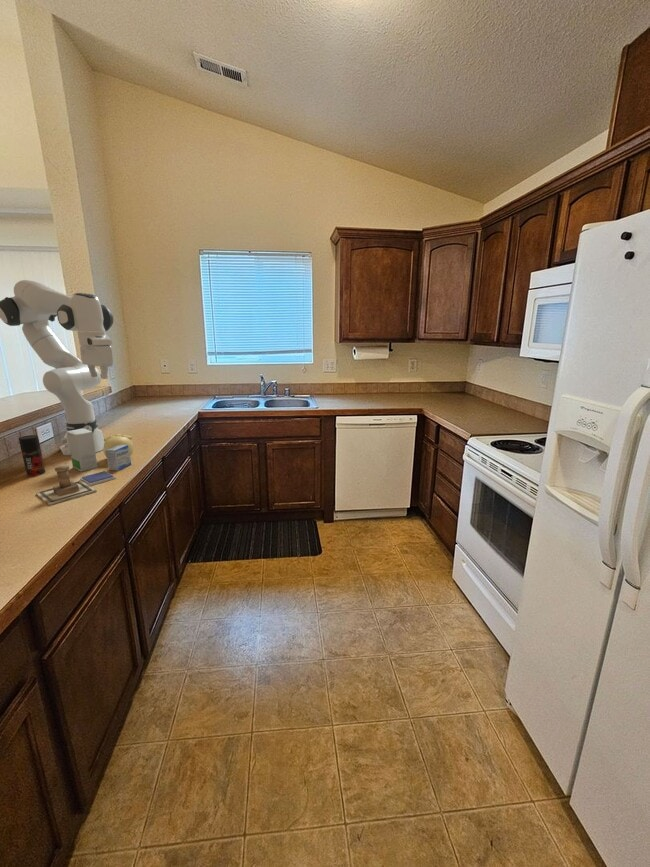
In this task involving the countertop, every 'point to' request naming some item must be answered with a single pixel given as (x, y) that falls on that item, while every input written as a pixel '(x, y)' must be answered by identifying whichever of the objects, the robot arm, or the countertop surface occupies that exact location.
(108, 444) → the sculpture
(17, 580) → the countertop surface
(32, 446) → the deodorant
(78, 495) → the marked board
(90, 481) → the ink pad
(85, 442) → the skincare box
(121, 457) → the medicine box
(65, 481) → the stamp
